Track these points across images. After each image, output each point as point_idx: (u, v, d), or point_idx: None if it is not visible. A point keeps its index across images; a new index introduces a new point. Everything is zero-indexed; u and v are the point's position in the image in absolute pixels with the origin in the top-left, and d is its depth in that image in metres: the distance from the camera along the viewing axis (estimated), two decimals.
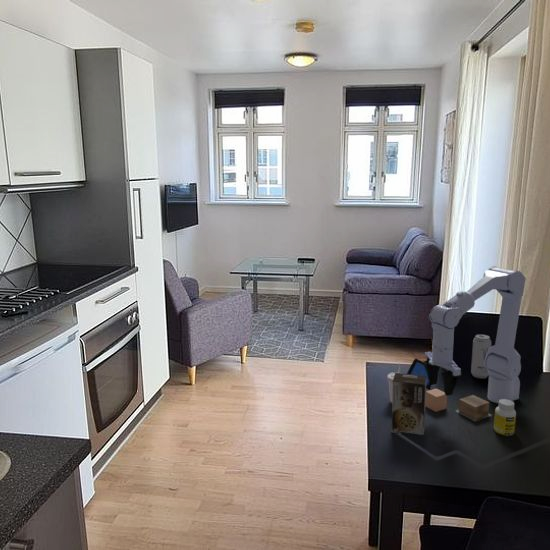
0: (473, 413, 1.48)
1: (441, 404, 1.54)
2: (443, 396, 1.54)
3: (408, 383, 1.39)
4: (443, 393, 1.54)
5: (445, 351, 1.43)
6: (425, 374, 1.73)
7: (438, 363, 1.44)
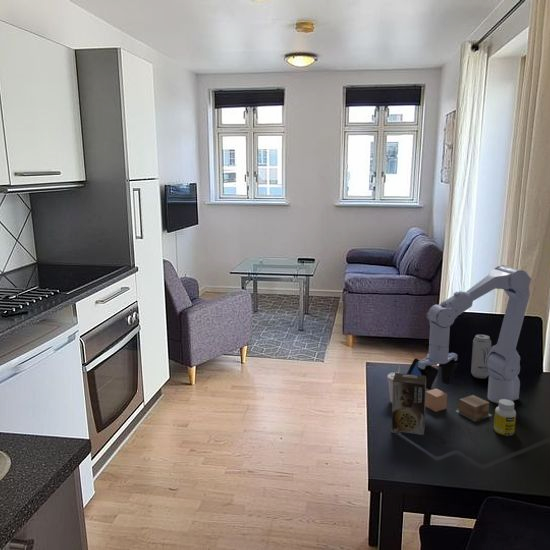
0: (473, 413, 1.48)
1: (441, 404, 1.54)
2: (443, 396, 1.54)
3: (408, 383, 1.39)
4: (443, 393, 1.54)
5: (430, 346, 1.52)
6: None
7: (428, 356, 1.54)
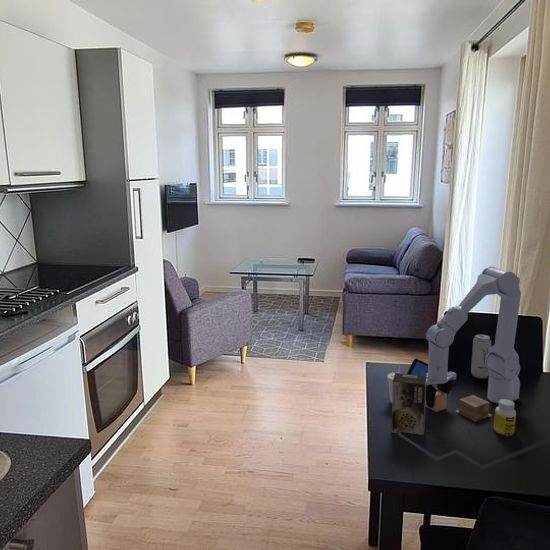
0: (473, 413, 1.48)
1: (441, 404, 1.54)
2: (443, 396, 1.54)
3: (408, 383, 1.39)
4: (443, 393, 1.54)
5: (429, 366, 1.53)
6: None
7: (427, 375, 1.55)
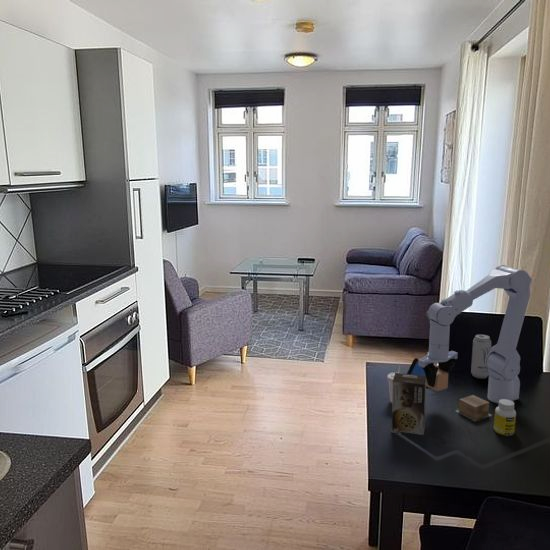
0: (473, 413, 1.48)
1: (442, 383, 1.52)
2: (444, 375, 1.52)
3: (408, 383, 1.39)
4: (444, 372, 1.53)
5: (430, 345, 1.51)
6: None
7: (428, 354, 1.54)
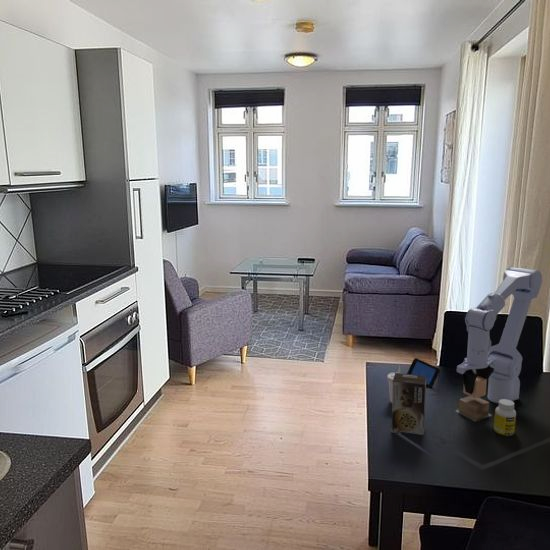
0: (473, 413, 1.48)
1: (480, 390, 1.48)
2: (483, 382, 1.48)
3: (408, 383, 1.39)
4: (482, 379, 1.49)
5: (468, 350, 1.47)
6: (426, 373, 1.73)
7: (466, 360, 1.50)
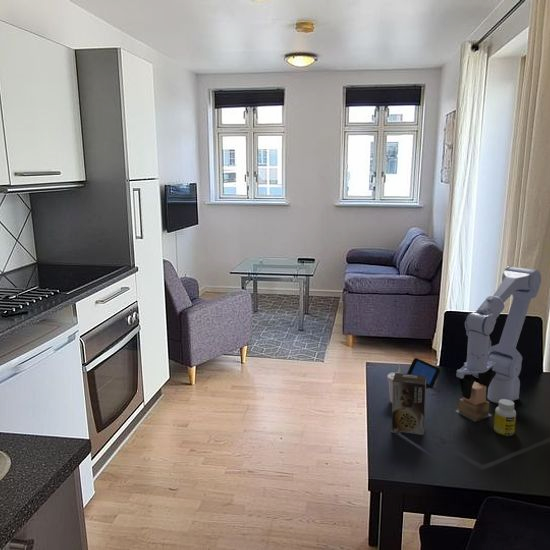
0: (473, 413, 1.48)
1: (480, 397, 1.49)
2: (482, 389, 1.49)
3: (408, 383, 1.39)
4: (482, 386, 1.50)
5: (468, 355, 1.48)
6: (427, 373, 1.74)
7: (465, 364, 1.50)
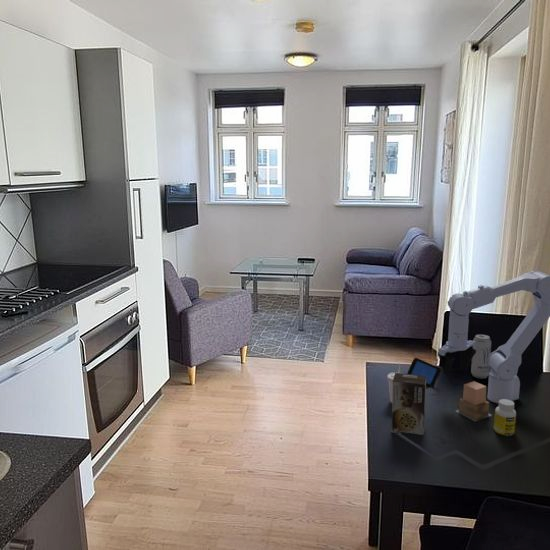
0: (473, 413, 1.48)
1: (480, 397, 1.49)
2: (482, 389, 1.49)
3: (408, 383, 1.39)
4: (482, 386, 1.50)
5: (449, 334, 1.57)
6: (427, 373, 1.74)
7: (447, 343, 1.60)
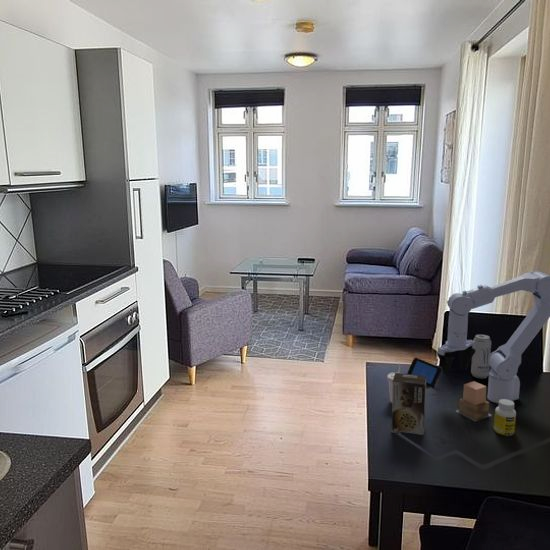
0: (473, 413, 1.48)
1: (480, 397, 1.49)
2: (482, 389, 1.49)
3: (408, 383, 1.39)
4: (482, 386, 1.50)
5: (449, 333, 1.57)
6: (427, 372, 1.74)
7: (446, 343, 1.60)
